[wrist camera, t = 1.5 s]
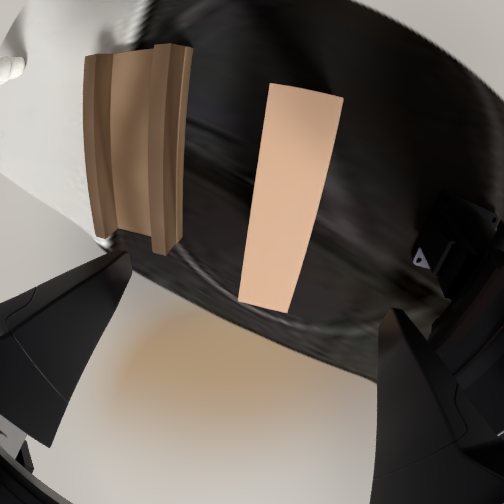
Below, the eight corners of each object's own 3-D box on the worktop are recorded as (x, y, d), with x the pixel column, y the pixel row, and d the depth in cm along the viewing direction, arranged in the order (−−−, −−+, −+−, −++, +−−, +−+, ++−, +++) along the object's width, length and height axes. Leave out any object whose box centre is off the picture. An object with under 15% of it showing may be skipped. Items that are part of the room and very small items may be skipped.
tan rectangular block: (333, 96, 15) (343, 98, 9) (297, 249, 22) (286, 313, 16) (287, 86, 15) (269, 82, 10) (260, 241, 22) (238, 301, 16)
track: (193, 47, 15) (172, 43, 12) (182, 236, 23) (166, 256, 21) (109, 56, 15) (84, 56, 13) (113, 220, 24) (95, 235, 22)
